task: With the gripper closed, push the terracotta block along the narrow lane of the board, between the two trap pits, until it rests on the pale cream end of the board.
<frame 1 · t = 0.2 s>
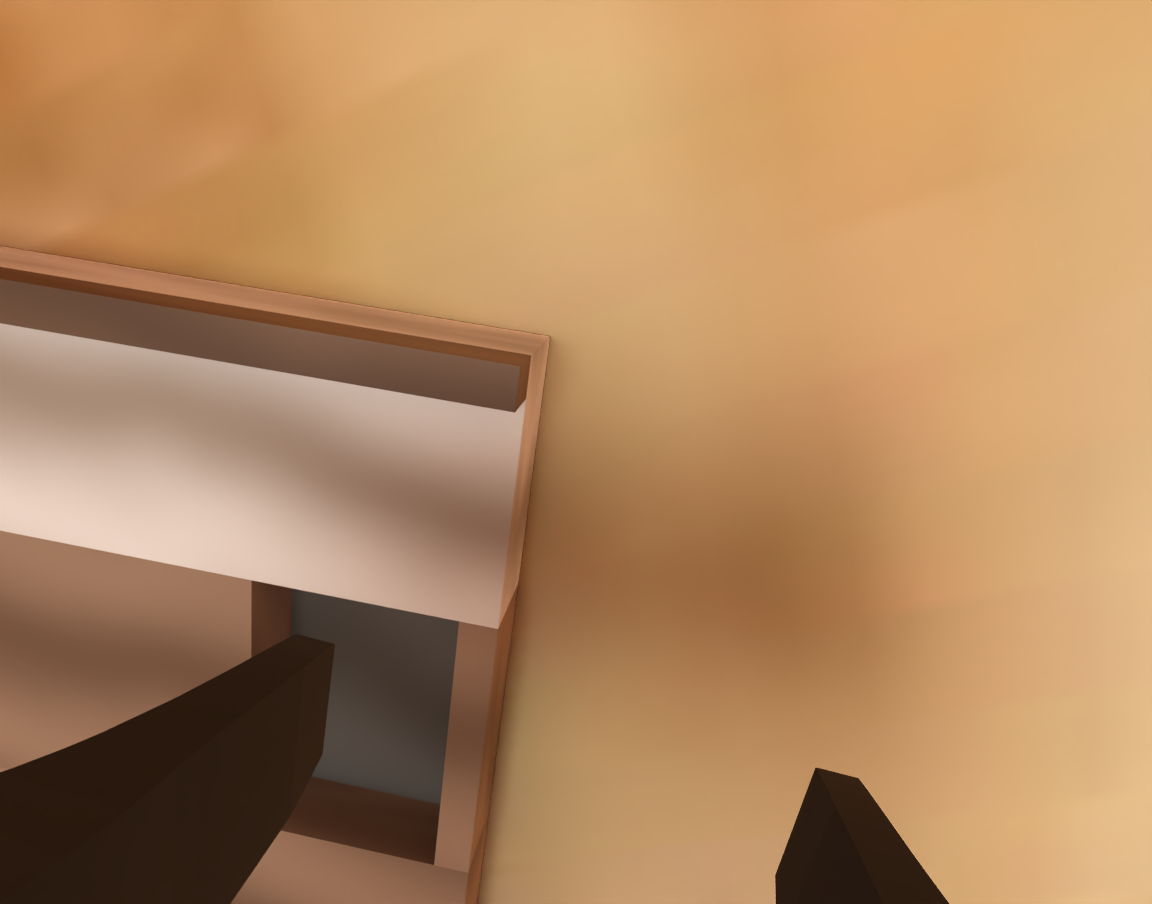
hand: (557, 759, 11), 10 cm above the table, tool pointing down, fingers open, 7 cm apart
trap board: (158, 684, 25), on the table
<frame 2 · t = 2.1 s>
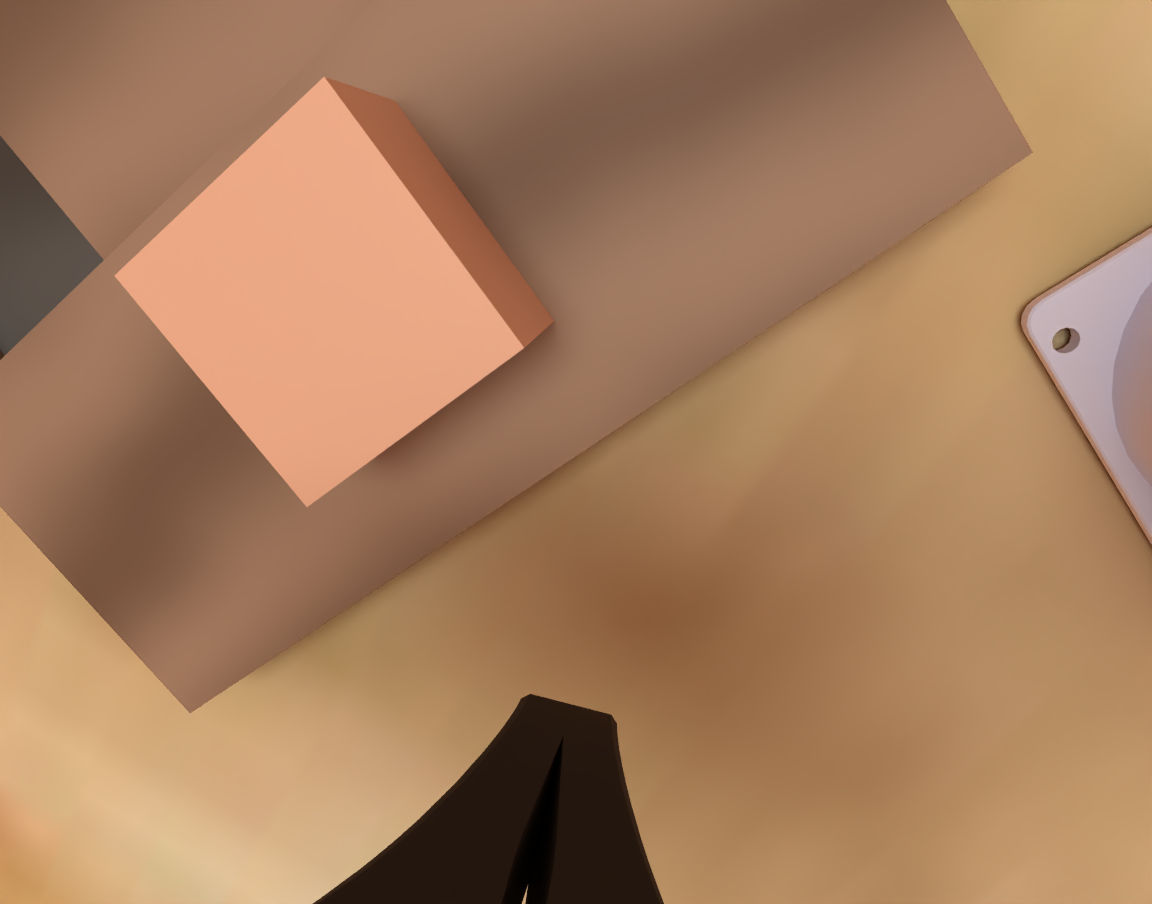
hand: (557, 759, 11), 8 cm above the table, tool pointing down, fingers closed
terracotta block: (382, 291, 16), point 2 cm above the table, touching trap board
trap board: (250, 50, 17), on the table
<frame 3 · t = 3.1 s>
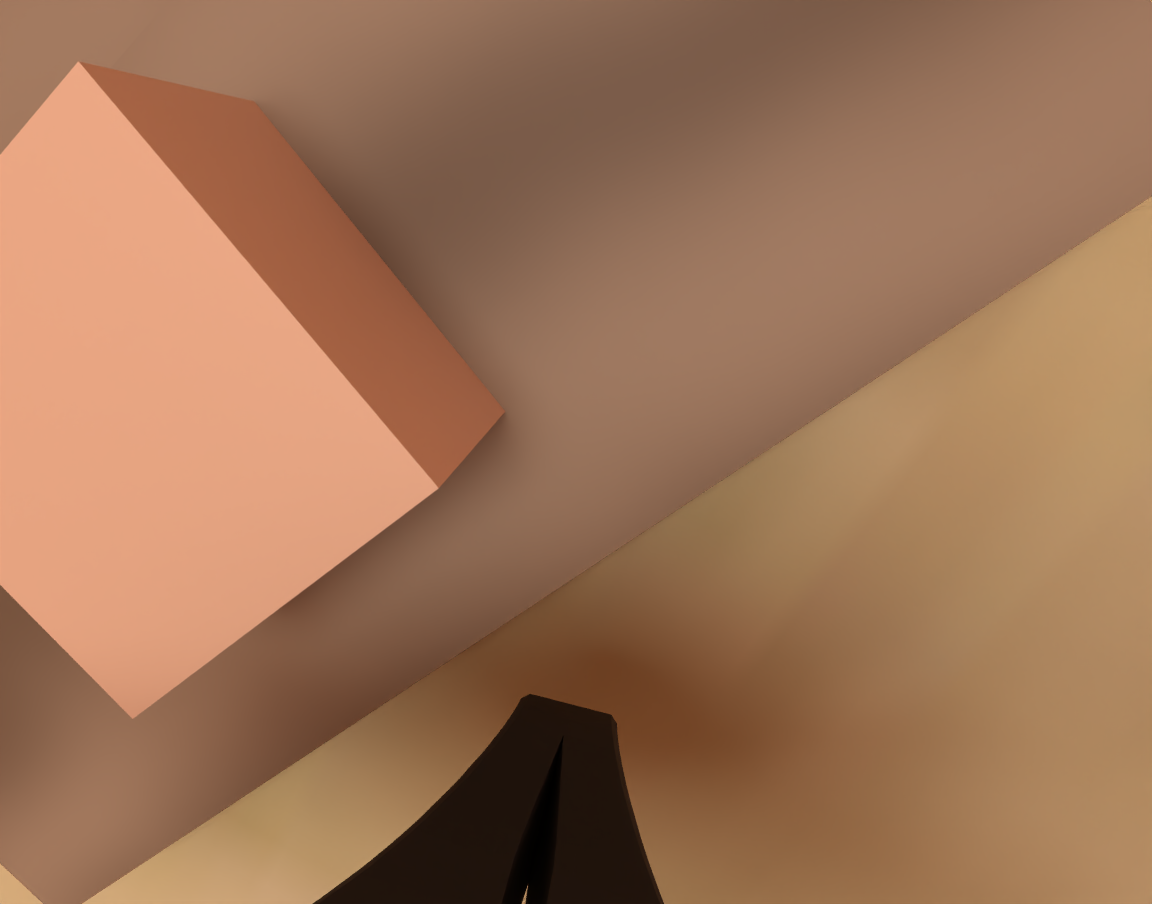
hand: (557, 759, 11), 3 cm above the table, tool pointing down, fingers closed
terracotta block: (258, 374, 11), point 2 cm above the table, touching trap board
trap board: (82, 42, 12), on the table
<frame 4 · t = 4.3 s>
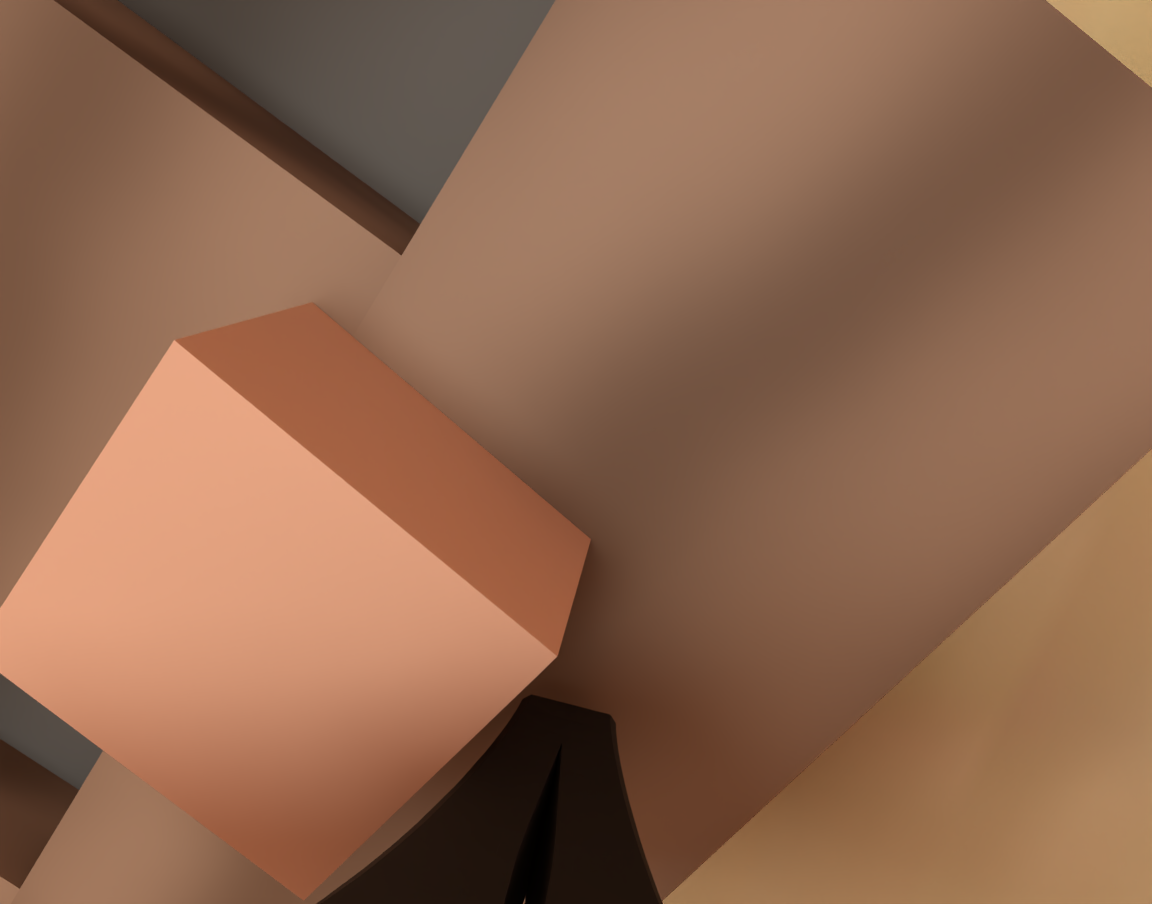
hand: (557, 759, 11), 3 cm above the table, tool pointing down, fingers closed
terracotta block: (354, 542, 12), point 3 cm above the table, touching gripper
trap board: (230, 389, 14), on the table
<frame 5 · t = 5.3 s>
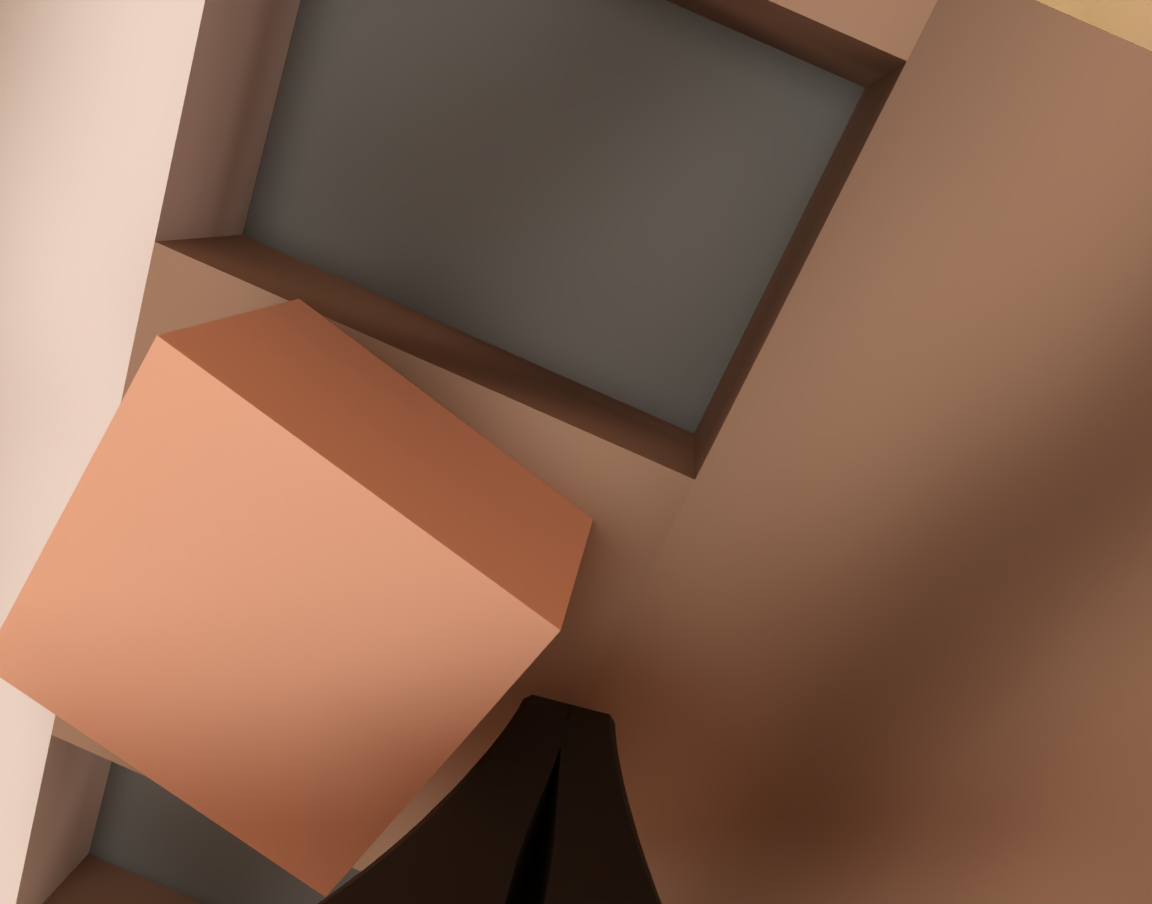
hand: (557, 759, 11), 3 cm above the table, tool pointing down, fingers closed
terracotta block: (357, 538, 12), point 3 cm above the table, touching gripper
trap board: (490, 597, 14), on the table
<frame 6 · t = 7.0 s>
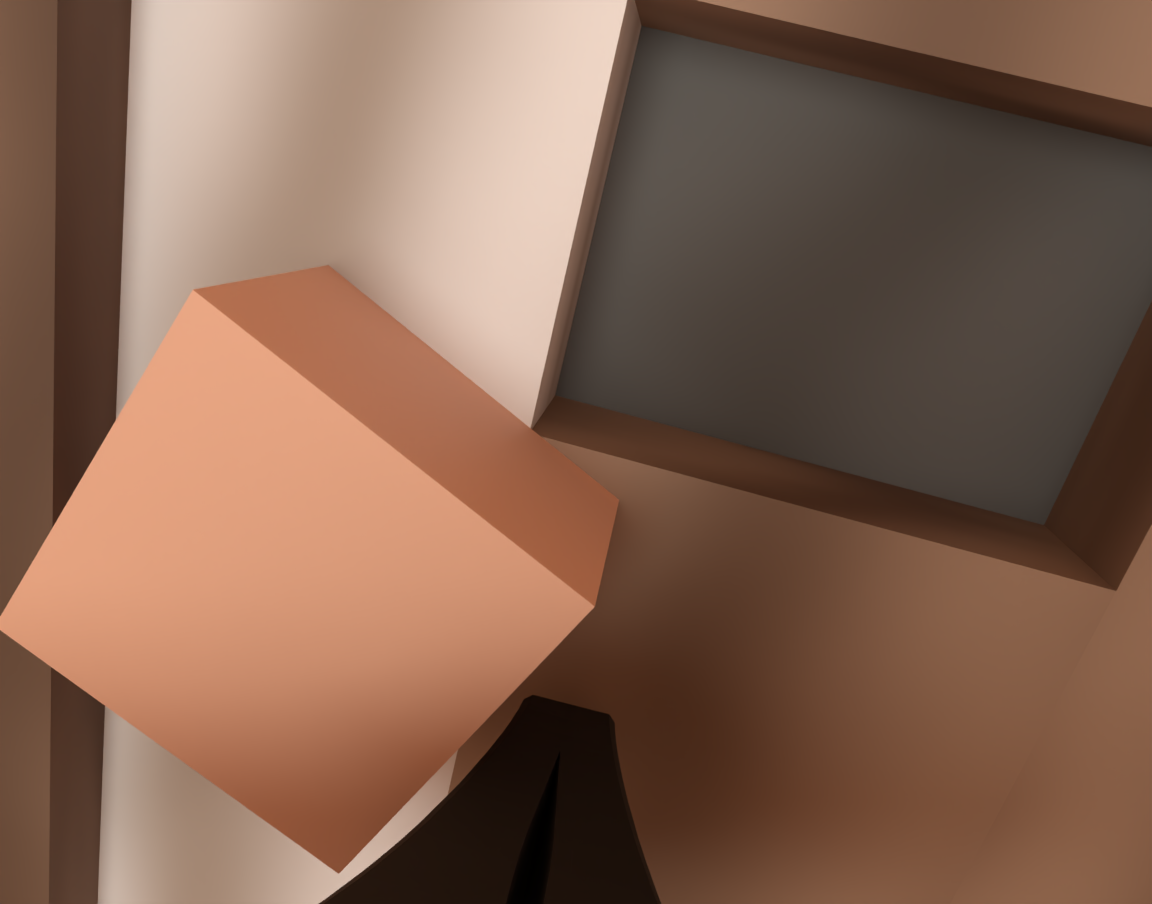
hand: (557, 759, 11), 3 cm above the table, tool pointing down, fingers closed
terracotta block: (377, 513, 11), point 2 cm above the table, touching gripper, trap board
trap board: (821, 709, 14), on the table
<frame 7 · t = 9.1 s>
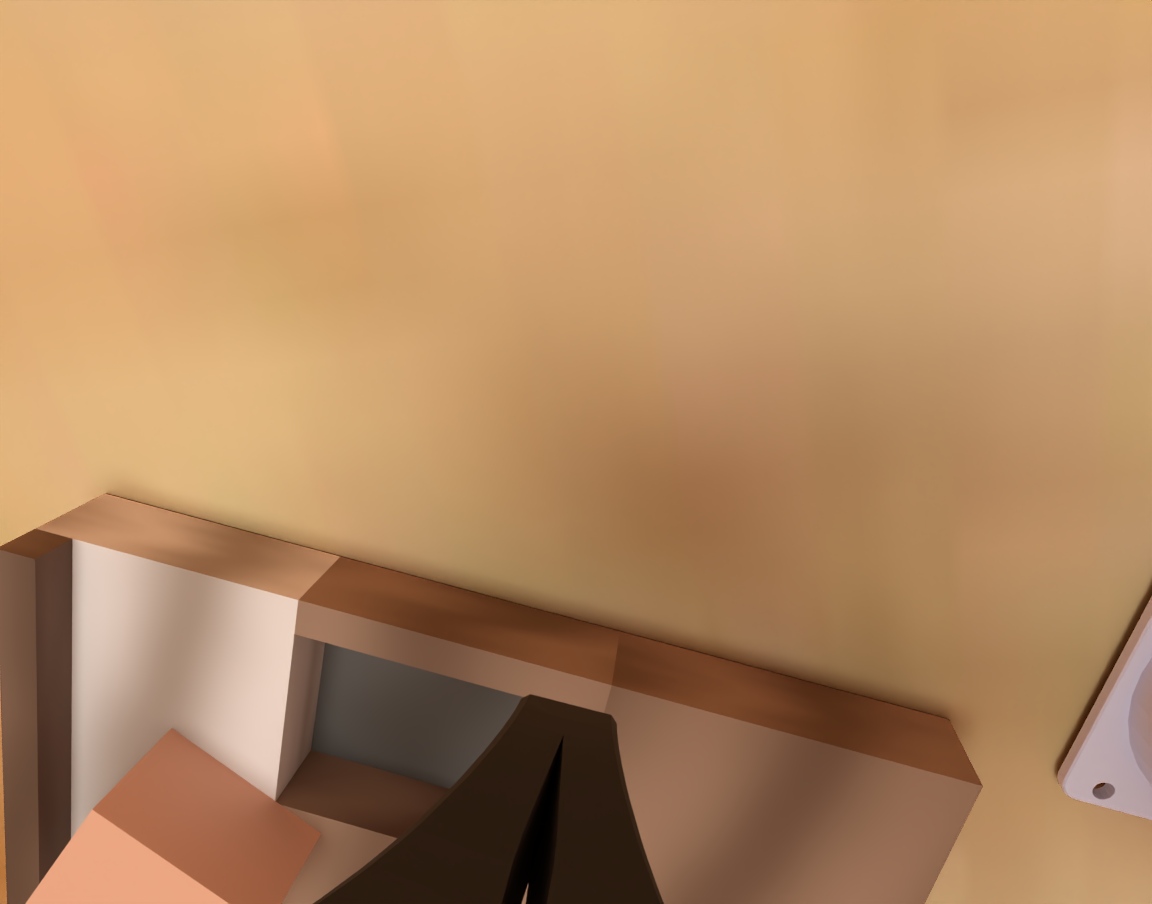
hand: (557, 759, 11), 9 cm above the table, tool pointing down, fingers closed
terracotta block: (205, 833, 22), point 2 cm above the table, touching trap board
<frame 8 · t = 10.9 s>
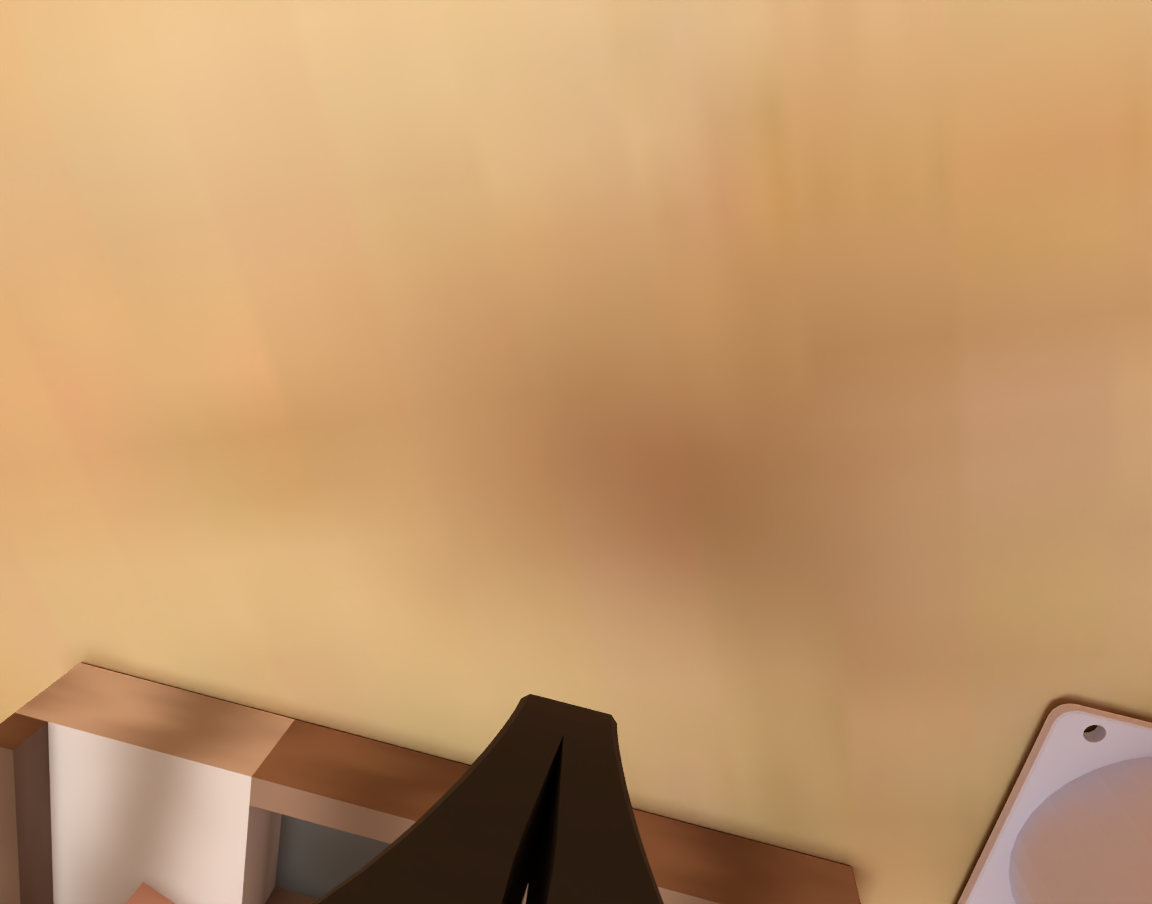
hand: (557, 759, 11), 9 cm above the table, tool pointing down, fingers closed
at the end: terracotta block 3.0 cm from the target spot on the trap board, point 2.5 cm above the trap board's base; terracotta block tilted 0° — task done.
